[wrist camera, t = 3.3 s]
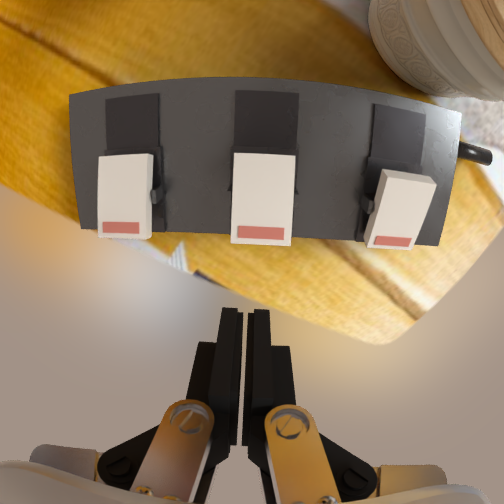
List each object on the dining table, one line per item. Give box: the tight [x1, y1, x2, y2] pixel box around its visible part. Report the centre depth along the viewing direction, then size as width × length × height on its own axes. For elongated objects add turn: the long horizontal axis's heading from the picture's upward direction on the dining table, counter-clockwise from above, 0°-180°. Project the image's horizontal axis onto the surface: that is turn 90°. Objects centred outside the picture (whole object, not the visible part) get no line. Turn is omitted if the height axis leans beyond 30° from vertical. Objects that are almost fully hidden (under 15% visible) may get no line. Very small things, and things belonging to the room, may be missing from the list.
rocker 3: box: [363, 169, 437, 250], centre depth 20 cm, size 4×6×2 cm, turn 178°
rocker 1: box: [98, 154, 153, 239], centre depth 21 cm, size 4×6×2 cm, turn 178°
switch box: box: [69, 77, 492, 246], centre depth 23 cm, size 38×12×7 cm, turn 88°
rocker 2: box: [231, 153, 295, 246], centre depth 20 cm, size 4×6×2 cm, turn 178°
